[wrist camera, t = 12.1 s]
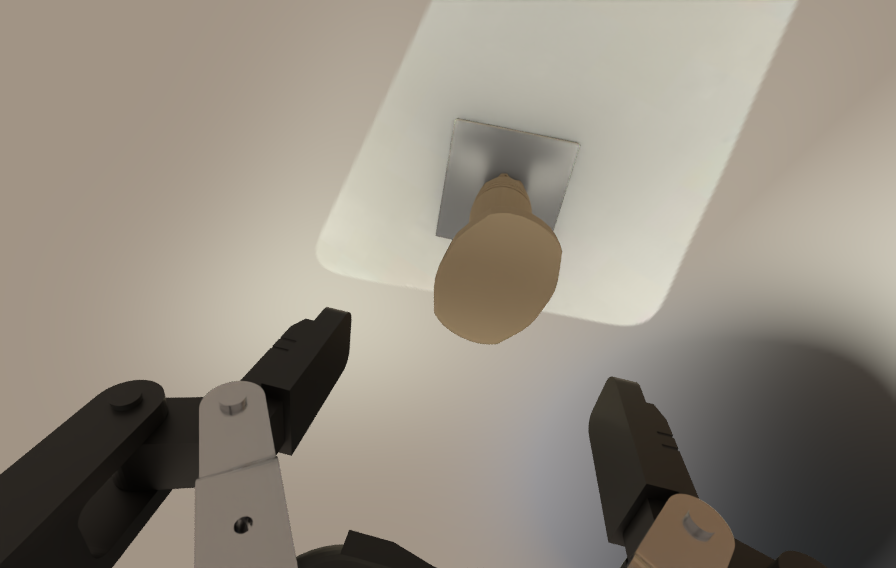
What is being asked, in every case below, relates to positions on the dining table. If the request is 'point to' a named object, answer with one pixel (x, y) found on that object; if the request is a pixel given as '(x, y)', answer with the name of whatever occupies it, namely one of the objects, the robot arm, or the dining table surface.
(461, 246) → the handle
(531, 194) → the plate
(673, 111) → the dining table surface
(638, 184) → the dining table surface
